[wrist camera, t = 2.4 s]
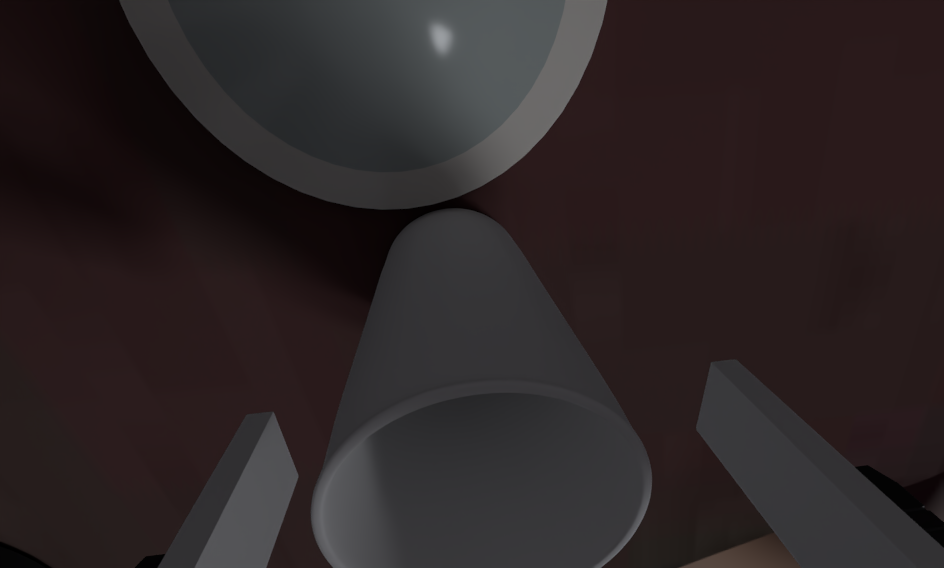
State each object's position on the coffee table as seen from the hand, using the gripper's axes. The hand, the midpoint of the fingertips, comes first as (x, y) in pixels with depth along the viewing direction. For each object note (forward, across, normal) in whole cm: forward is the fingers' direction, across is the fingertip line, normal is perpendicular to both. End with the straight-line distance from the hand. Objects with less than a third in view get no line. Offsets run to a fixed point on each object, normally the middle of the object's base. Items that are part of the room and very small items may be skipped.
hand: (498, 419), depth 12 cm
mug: (+8, 0, 0) cm, 8 cm away
